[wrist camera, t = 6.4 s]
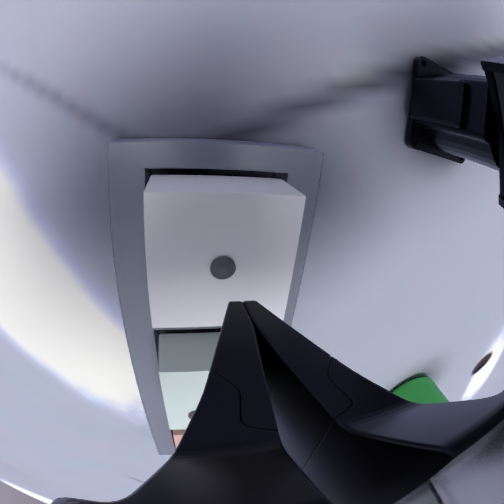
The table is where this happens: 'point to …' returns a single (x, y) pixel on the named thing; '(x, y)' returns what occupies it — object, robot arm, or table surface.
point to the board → (133, 238)
